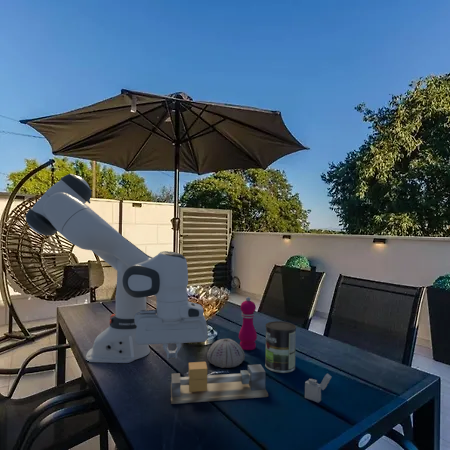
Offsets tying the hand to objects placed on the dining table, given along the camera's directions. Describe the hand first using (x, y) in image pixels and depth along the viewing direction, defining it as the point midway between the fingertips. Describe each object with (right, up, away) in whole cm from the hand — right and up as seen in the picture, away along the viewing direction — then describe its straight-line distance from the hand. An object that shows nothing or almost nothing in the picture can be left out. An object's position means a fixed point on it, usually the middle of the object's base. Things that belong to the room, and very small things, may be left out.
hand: (172, 358), depth 93 cm
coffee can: (+34, -11, +20) cm, 41 cm away
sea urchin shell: (+15, -11, +23) cm, 30 cm away
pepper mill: (+24, -11, +38) cm, 46 cm away
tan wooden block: (+7, -9, +1) cm, 12 cm away
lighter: (+41, -11, -2) cm, 42 cm away
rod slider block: (+13, -11, +2) cm, 17 cm away
